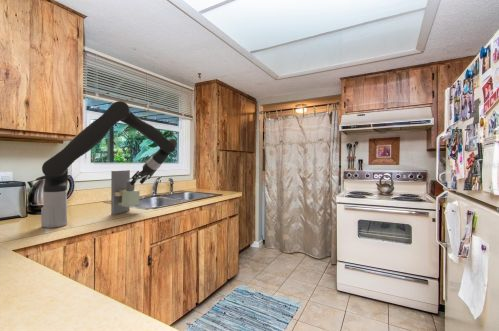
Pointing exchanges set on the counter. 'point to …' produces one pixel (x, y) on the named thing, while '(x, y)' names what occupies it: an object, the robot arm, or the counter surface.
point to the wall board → (117, 184)
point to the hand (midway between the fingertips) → (136, 183)
